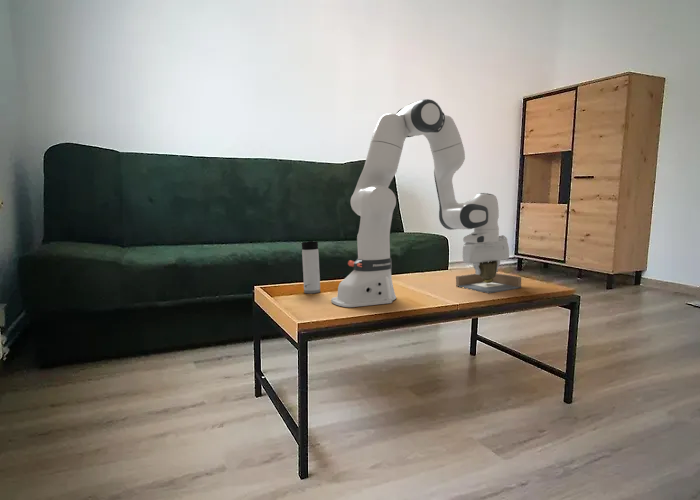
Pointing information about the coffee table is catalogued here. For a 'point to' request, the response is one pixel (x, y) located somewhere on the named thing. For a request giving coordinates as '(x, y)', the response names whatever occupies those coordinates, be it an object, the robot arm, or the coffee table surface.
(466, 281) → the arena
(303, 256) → the travel mug
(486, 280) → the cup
